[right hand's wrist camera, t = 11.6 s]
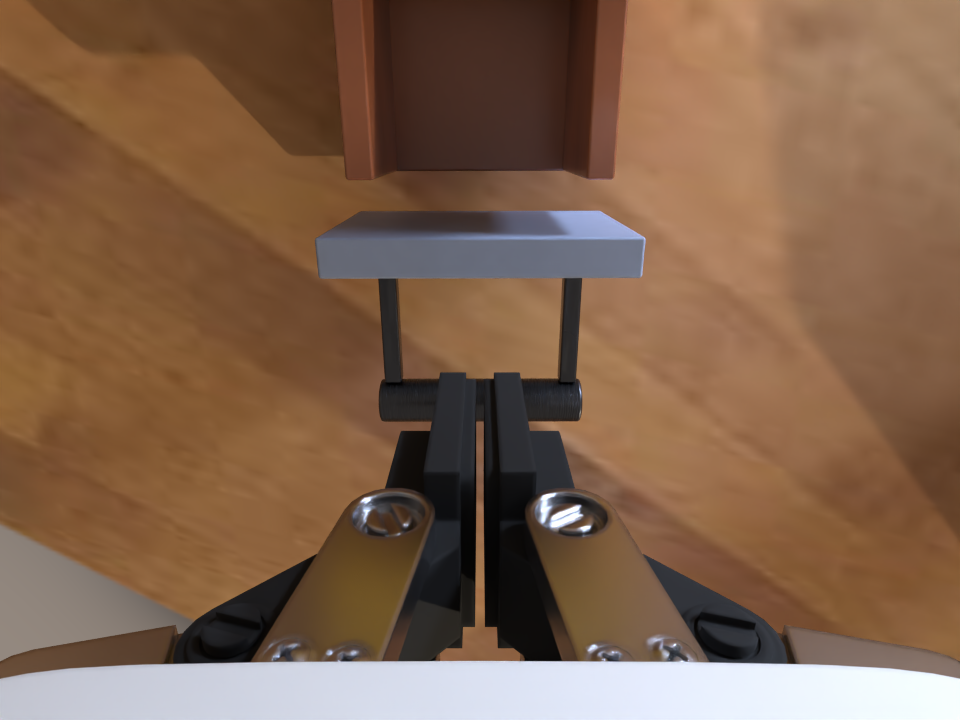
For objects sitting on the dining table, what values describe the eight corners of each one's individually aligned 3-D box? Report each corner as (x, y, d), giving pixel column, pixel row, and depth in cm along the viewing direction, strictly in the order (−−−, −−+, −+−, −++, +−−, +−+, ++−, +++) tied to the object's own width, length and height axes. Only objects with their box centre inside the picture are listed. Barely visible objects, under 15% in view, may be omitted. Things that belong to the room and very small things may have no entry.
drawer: (589, 379, 25) (624, 457, 19) (371, 379, 25) (336, 457, 19) (643, -396, 17) (740, -713, 10) (314, -395, 17) (216, -712, 11)
